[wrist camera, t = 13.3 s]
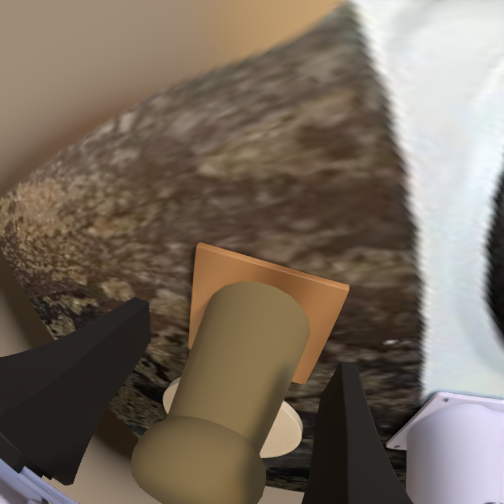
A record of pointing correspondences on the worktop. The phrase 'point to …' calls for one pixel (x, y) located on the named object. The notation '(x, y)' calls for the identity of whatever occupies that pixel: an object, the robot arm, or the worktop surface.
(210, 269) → the cork trivet
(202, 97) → the worktop surface
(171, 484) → the pepper shaker
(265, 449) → the plate
